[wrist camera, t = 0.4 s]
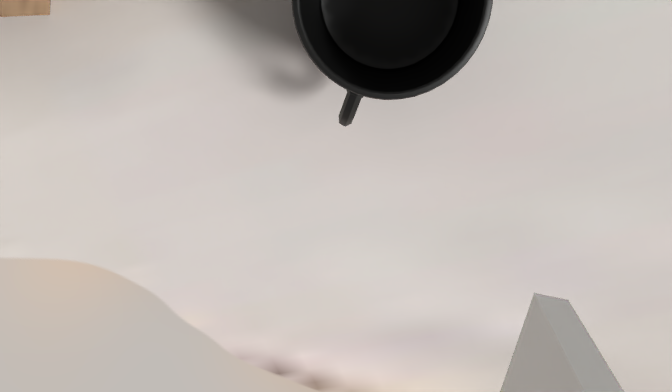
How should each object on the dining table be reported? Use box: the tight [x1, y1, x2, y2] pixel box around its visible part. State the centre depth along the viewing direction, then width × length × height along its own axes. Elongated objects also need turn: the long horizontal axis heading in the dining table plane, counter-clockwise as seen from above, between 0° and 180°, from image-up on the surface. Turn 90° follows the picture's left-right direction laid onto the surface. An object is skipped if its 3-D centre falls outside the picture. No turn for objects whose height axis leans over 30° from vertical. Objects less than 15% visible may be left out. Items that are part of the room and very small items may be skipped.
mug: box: [292, 0, 493, 126], centre depth 32 cm, size 9×12×9 cm
